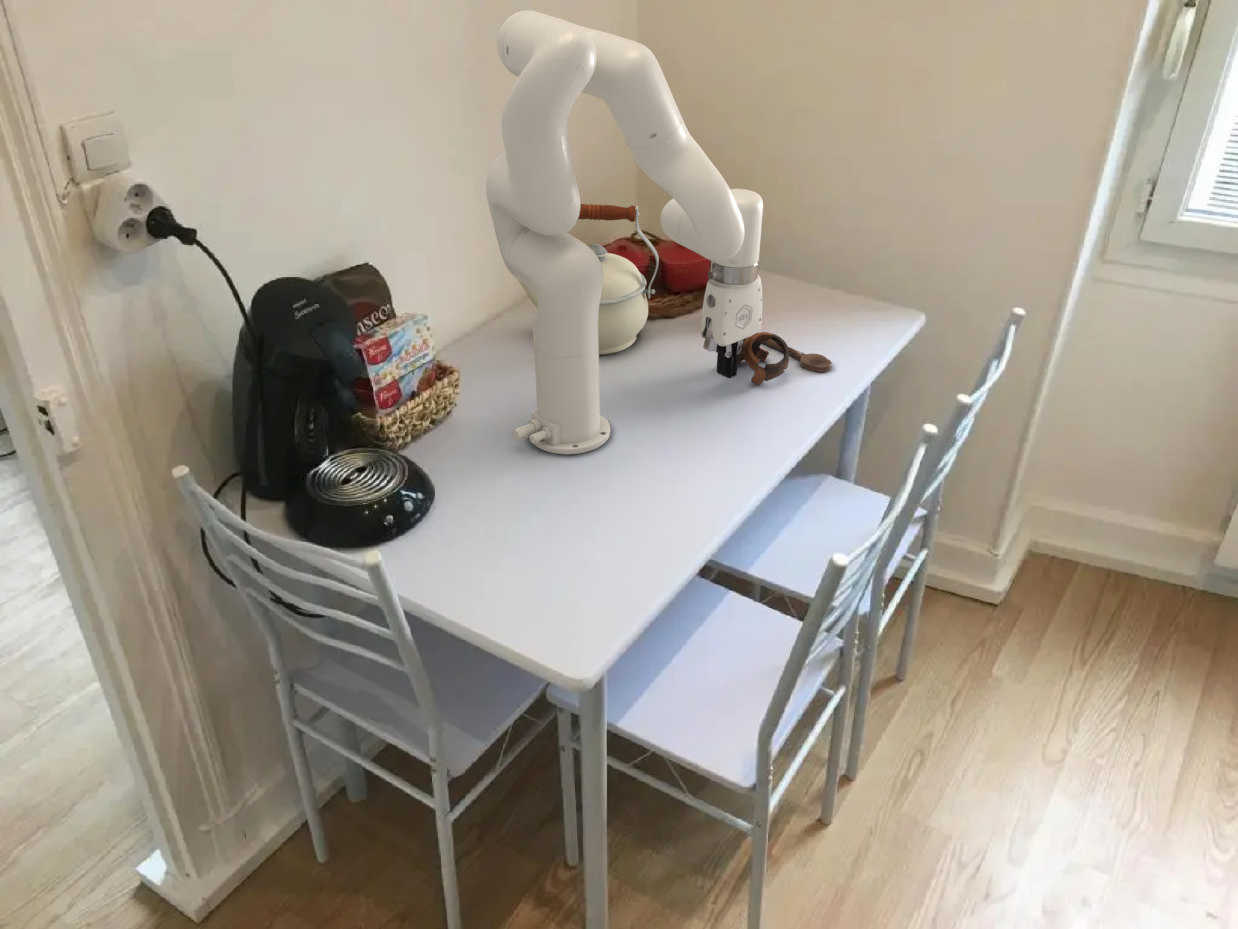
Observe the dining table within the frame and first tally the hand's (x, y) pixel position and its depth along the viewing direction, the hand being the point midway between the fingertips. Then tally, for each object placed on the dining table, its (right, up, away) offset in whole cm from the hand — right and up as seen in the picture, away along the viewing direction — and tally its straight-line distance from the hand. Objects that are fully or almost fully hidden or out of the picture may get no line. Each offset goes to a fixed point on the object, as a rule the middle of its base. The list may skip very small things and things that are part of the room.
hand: (726, 374), depth 177 cm
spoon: (+12, +4, +10) cm, 16 cm away
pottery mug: (+5, 0, +5) cm, 7 cm away
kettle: (-23, +8, +16) cm, 30 cm away
